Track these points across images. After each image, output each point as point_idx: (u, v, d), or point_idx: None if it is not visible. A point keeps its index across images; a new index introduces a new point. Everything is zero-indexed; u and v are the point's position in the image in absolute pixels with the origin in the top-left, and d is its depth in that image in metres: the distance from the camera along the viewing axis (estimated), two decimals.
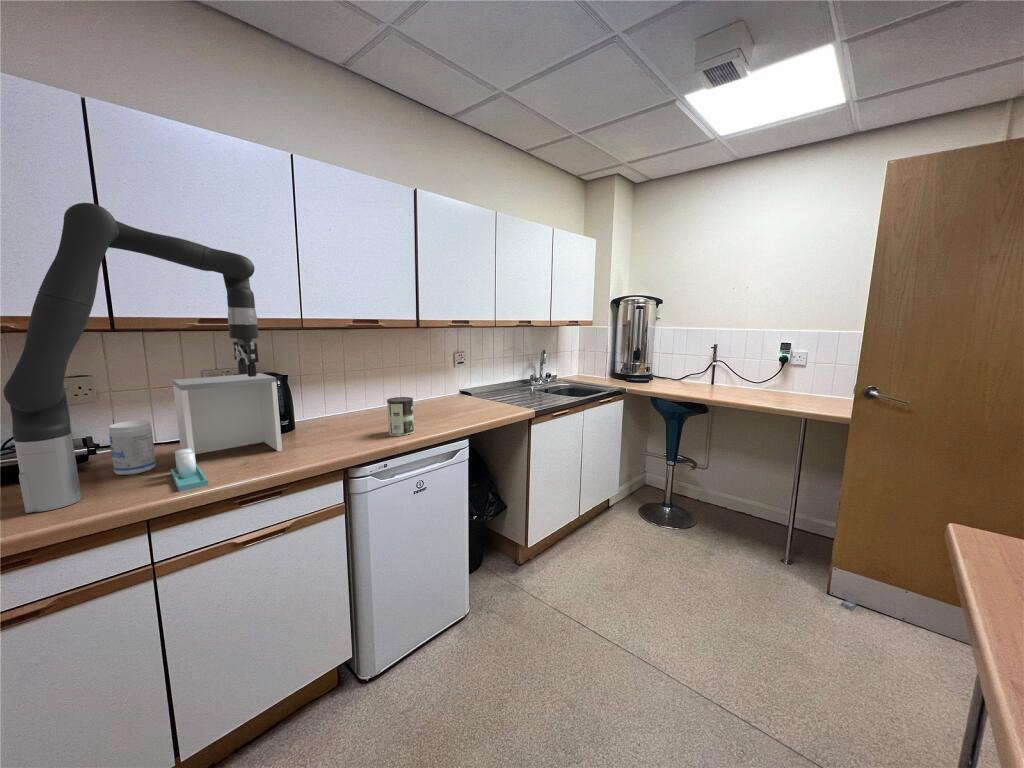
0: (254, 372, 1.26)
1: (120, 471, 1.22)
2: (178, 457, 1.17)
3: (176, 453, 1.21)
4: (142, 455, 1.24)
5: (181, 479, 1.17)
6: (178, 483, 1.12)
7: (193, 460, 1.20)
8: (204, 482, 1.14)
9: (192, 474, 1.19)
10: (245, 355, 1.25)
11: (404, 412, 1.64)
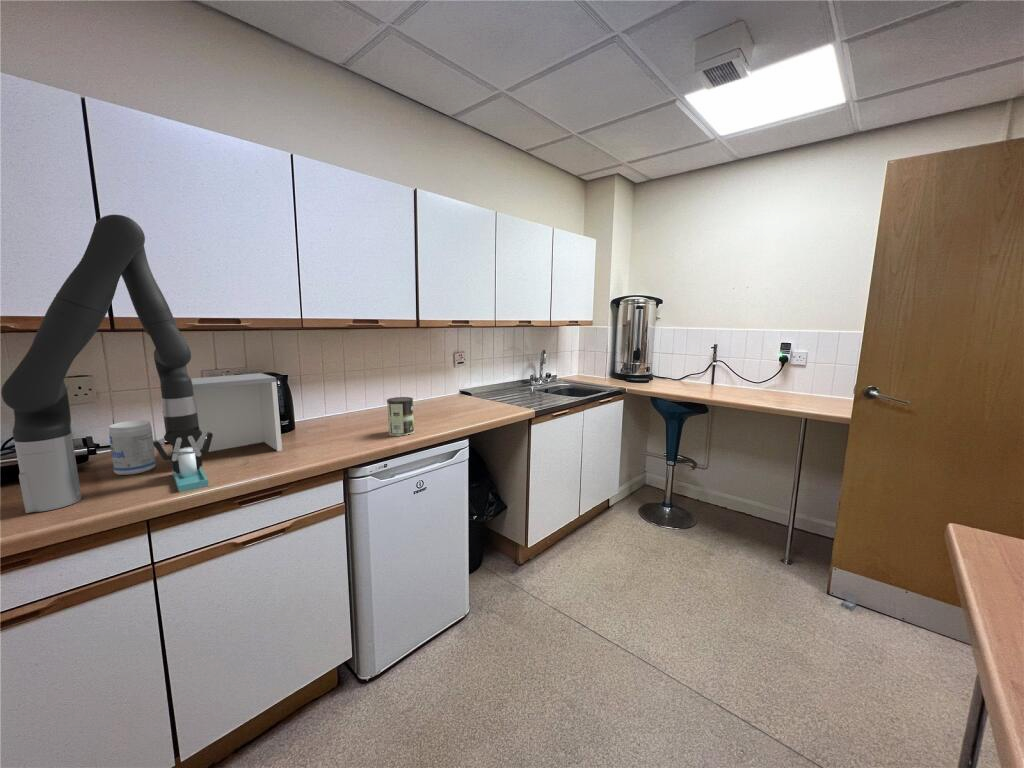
0: None
1: (120, 471, 1.22)
2: (178, 457, 1.17)
3: None
4: (142, 455, 1.24)
5: (182, 479, 1.17)
6: (178, 483, 1.12)
7: (193, 460, 1.19)
8: (204, 482, 1.14)
9: (193, 474, 1.19)
10: (197, 447, 1.20)
11: (404, 412, 1.64)
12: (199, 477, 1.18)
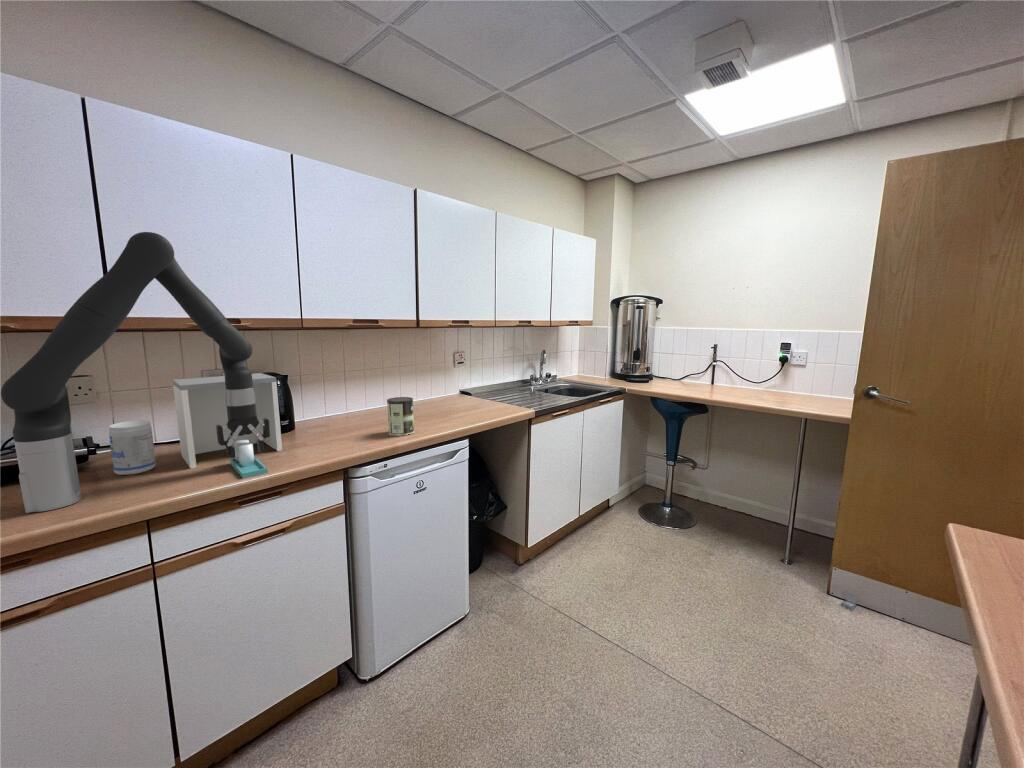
0: None
1: (120, 471, 1.22)
2: (239, 447, 1.27)
3: (235, 444, 1.30)
4: (142, 455, 1.24)
5: (242, 468, 1.27)
6: (241, 471, 1.21)
7: (252, 450, 1.29)
8: (264, 470, 1.23)
9: (251, 463, 1.29)
10: (258, 432, 1.30)
11: (404, 412, 1.64)
12: (257, 466, 1.28)
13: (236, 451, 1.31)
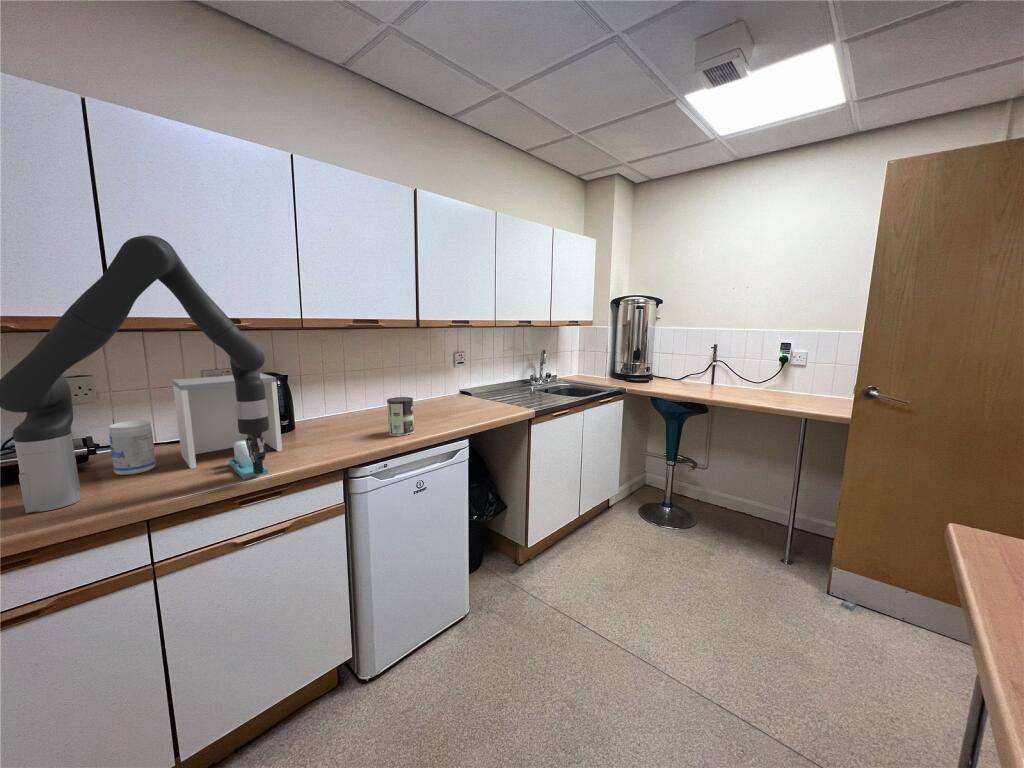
0: None
1: (120, 471, 1.22)
2: (238, 448, 1.26)
3: (235, 444, 1.30)
4: (142, 455, 1.24)
5: (242, 468, 1.26)
6: (242, 472, 1.21)
7: None
8: (264, 471, 1.23)
9: (251, 464, 1.28)
10: None
11: (404, 412, 1.64)
12: None
13: (235, 452, 1.30)
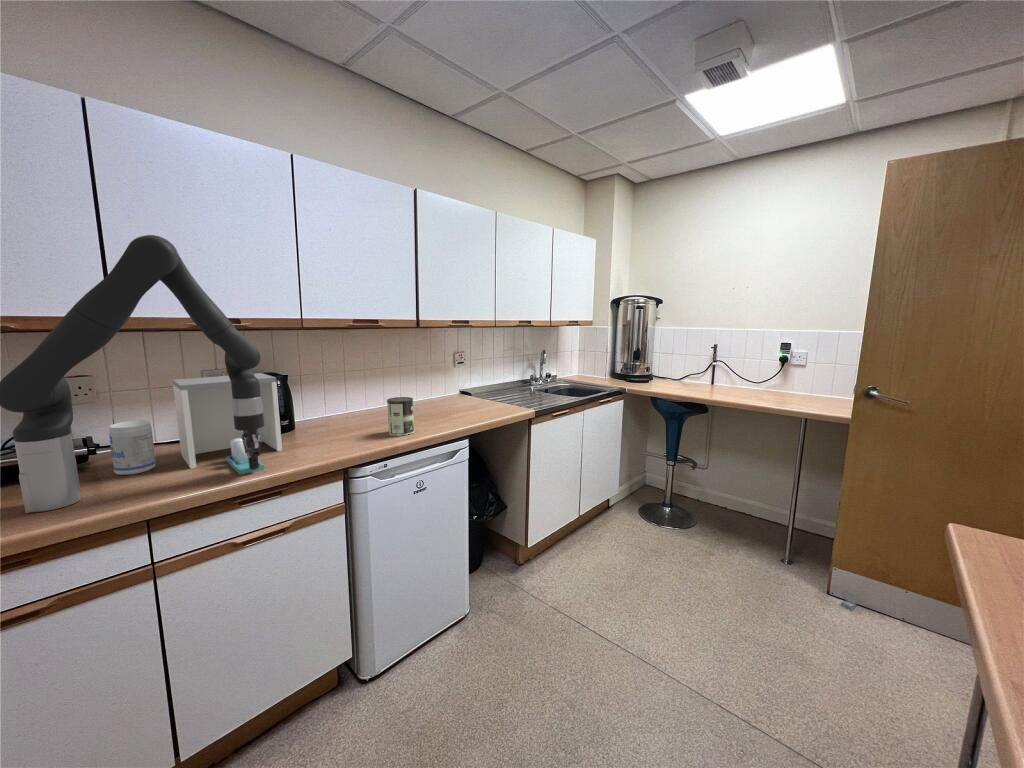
0: None
1: (120, 471, 1.22)
2: (235, 445, 1.29)
3: (232, 441, 1.33)
4: (142, 455, 1.24)
5: (238, 465, 1.29)
6: (238, 468, 1.24)
7: None
8: (261, 467, 1.26)
9: (247, 460, 1.31)
10: None
11: (404, 412, 1.64)
12: None
13: (232, 449, 1.33)
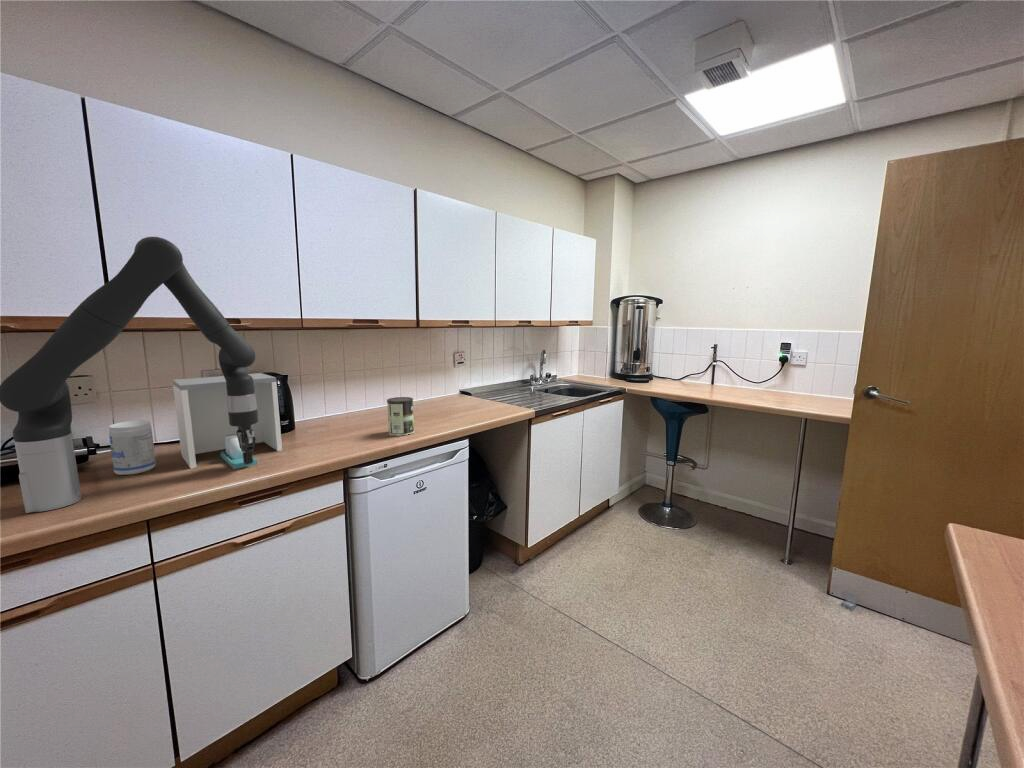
0: None
1: (120, 471, 1.22)
2: (229, 441, 1.34)
3: (226, 437, 1.38)
4: (142, 455, 1.24)
5: (232, 460, 1.34)
6: (232, 462, 1.29)
7: None
8: (254, 462, 1.31)
9: (241, 456, 1.36)
10: None
11: (404, 412, 1.64)
12: None
13: (226, 444, 1.38)
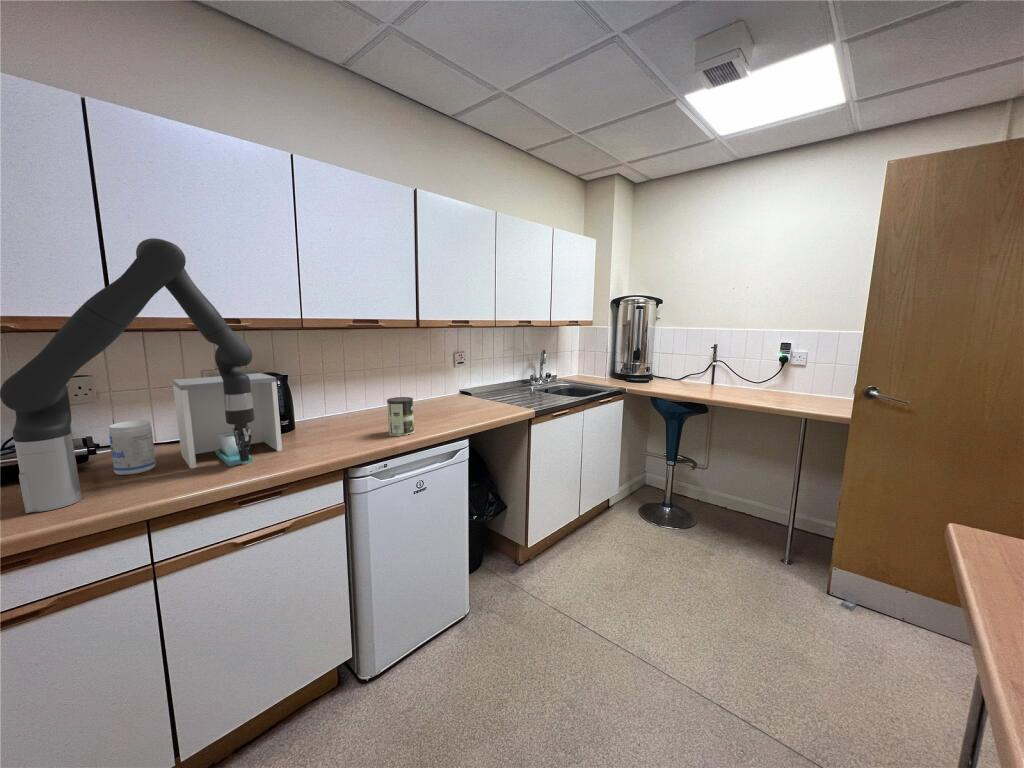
0: None
1: (120, 471, 1.22)
2: (224, 438, 1.37)
3: (221, 435, 1.40)
4: (142, 455, 1.24)
5: (227, 457, 1.37)
6: (228, 459, 1.32)
7: None
8: (249, 458, 1.34)
9: (236, 453, 1.39)
10: None
11: (404, 412, 1.64)
12: None
13: (221, 442, 1.40)
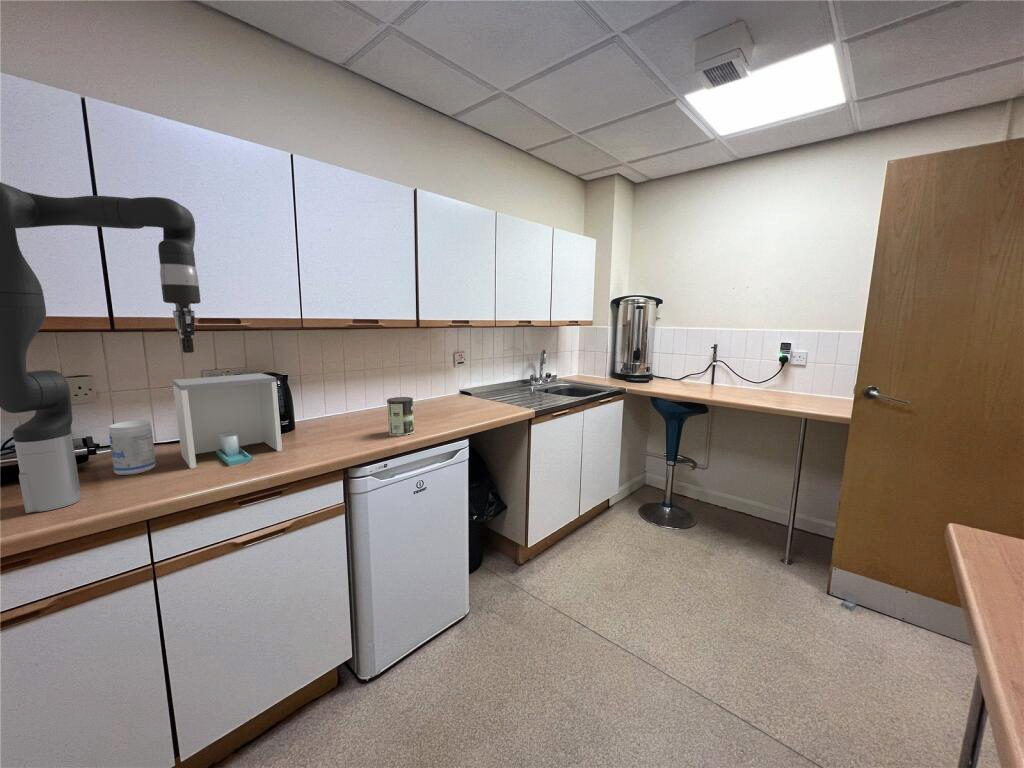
0: None
1: (120, 471, 1.22)
2: (225, 438, 1.37)
3: (221, 435, 1.40)
4: (142, 455, 1.24)
5: (228, 457, 1.37)
6: (228, 459, 1.32)
7: (237, 441, 1.39)
8: (249, 458, 1.34)
9: (236, 453, 1.39)
10: None
11: (404, 412, 1.64)
12: (242, 455, 1.38)
13: (222, 442, 1.41)
